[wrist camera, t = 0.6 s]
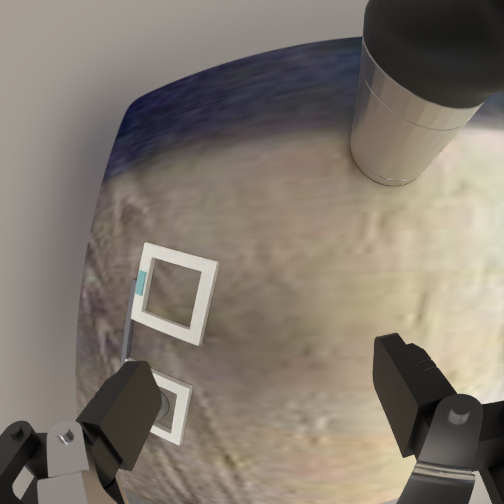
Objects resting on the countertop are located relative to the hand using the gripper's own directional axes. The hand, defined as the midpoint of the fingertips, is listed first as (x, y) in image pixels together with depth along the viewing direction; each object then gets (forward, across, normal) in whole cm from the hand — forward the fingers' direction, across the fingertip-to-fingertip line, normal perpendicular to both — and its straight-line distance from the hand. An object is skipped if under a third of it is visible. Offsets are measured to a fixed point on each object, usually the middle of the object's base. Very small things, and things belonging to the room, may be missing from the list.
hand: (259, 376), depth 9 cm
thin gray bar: (+23, +20, +10) cm, 32 cm away
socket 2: (+20, +18, +19) cm, 33 cm away
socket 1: (+23, +12, +5) cm, 27 cm away
